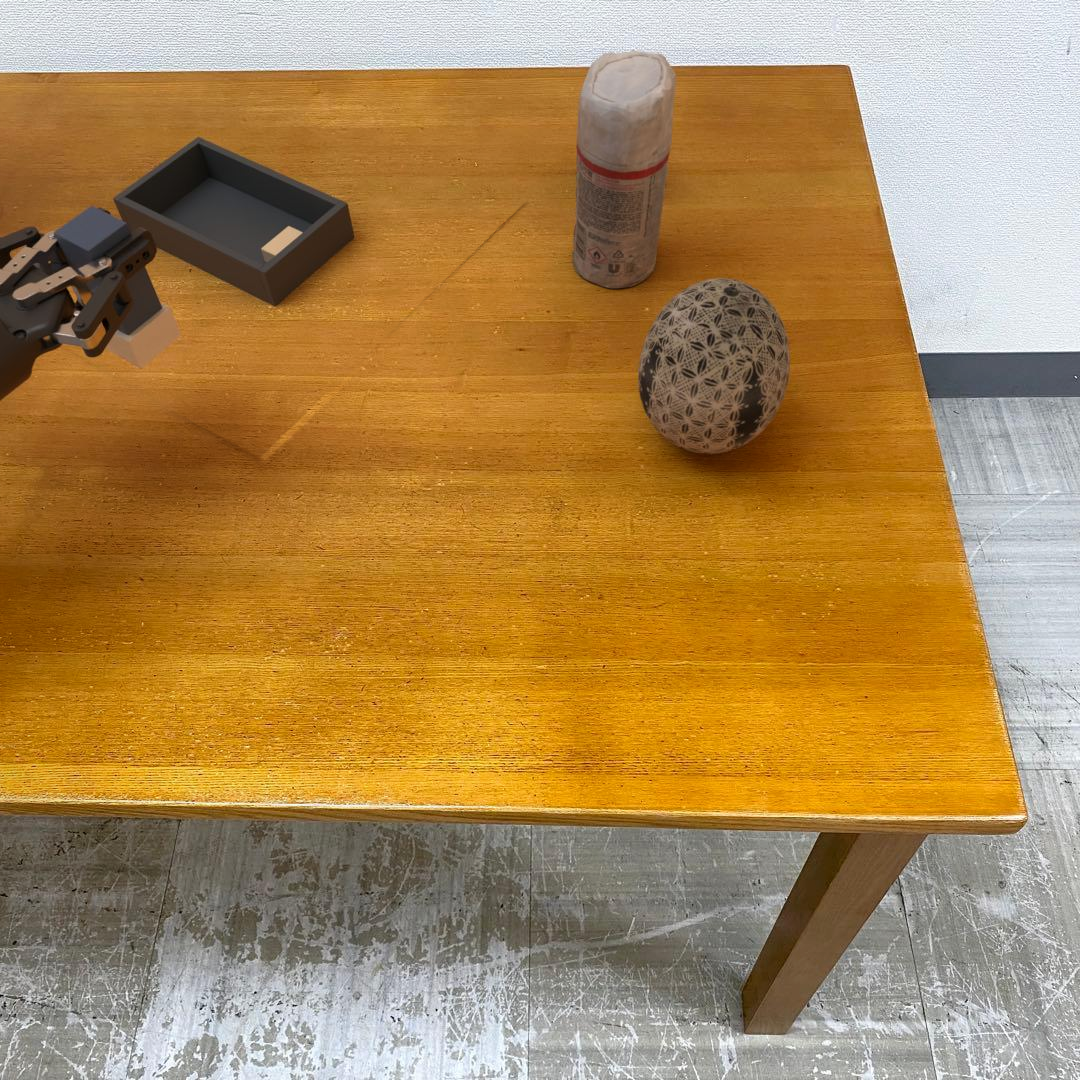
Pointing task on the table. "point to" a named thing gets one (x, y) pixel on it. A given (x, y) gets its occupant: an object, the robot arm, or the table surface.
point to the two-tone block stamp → (148, 318)
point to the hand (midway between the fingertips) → (128, 229)
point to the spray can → (622, 166)
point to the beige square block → (279, 242)
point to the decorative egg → (714, 366)
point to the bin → (236, 218)
